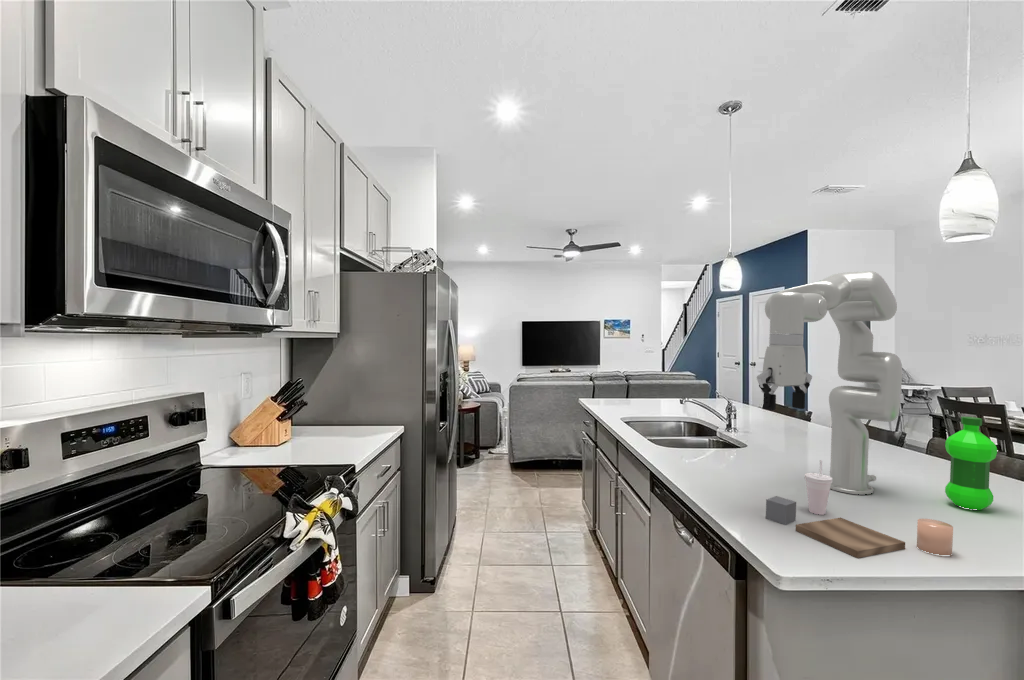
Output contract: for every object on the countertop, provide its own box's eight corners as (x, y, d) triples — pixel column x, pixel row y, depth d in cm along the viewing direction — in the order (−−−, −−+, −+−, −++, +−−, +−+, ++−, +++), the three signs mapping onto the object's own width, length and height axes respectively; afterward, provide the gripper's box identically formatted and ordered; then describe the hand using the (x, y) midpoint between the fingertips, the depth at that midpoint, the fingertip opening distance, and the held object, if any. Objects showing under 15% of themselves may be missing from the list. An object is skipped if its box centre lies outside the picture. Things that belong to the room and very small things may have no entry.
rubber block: (775, 514, 130) (776, 496, 129) (795, 521, 125) (796, 501, 125) (765, 518, 127) (766, 499, 127) (785, 525, 123) (786, 505, 122)
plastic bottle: (944, 498, 145) (947, 413, 144) (995, 508, 137) (998, 418, 137) (941, 506, 138) (944, 417, 137) (994, 517, 130) (997, 422, 130)
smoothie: (822, 518, 127) (824, 464, 127) (798, 510, 133) (799, 458, 133) (836, 514, 130) (838, 461, 130) (812, 506, 136) (814, 455, 136)
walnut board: (840, 523, 124) (840, 517, 124) (905, 548, 110) (905, 542, 110) (795, 530, 119) (795, 524, 119) (857, 558, 105) (857, 551, 105)
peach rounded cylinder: (927, 543, 113) (928, 517, 113) (958, 554, 108) (959, 527, 108) (910, 546, 111) (911, 520, 111) (940, 558, 106) (941, 530, 106)
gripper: (798, 341, 132) (796, 405, 132) (747, 340, 126) (745, 407, 126) (824, 342, 124) (822, 409, 125) (772, 341, 119) (770, 412, 119)
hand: (784, 408), depth 125 cm, fingers open, 9 cm apart
